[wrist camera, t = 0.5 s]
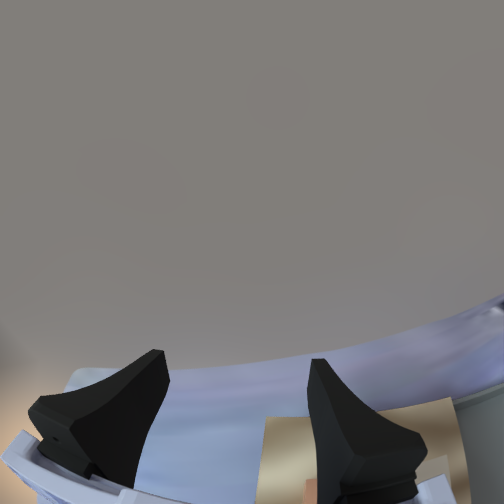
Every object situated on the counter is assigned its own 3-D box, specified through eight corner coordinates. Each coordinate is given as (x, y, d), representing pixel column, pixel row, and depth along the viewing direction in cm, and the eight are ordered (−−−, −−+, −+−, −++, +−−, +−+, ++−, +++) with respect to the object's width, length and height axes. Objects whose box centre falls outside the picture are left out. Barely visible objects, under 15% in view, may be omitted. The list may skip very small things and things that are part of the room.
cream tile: (437, 511, 8) (452, 506, 7) (380, 528, 9) (391, 527, 8) (433, 463, 13) (446, 454, 11) (379, 476, 13) (389, 469, 12)
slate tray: (541, 496, 2) (556, 487, 1) (409, 571, 5) (422, 573, 4) (514, 385, 19) (525, 372, 18) (402, 421, 22) (411, 410, 21)
